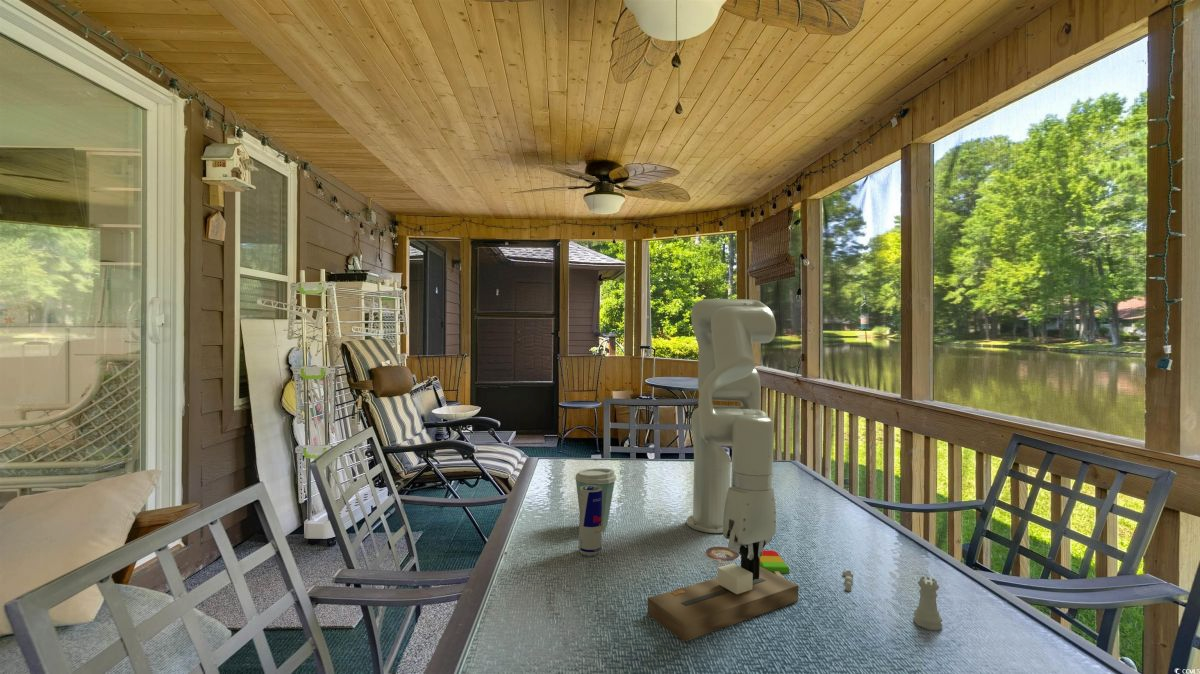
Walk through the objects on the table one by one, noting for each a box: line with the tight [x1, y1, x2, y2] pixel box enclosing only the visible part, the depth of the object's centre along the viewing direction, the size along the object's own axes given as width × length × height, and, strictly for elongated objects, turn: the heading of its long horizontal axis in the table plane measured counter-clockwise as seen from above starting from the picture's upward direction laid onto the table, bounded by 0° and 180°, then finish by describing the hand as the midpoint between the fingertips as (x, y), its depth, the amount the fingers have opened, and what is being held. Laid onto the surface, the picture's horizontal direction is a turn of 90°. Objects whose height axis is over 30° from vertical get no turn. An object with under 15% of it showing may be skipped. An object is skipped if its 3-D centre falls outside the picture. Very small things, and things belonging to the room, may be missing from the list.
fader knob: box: [716, 562, 753, 594], centre depth 102 cm, size 4×5×3 cm
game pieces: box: [842, 569, 854, 592], centre depth 112 cm, size 8×2×2 cm, turn 155°
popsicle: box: [759, 549, 790, 578], centre depth 118 cm, size 6×15×2 cm, turn 179°
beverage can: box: [578, 485, 603, 557], centre depth 125 cm, size 5×5×15 cm
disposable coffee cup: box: [574, 467, 617, 533], centre depth 141 cm, size 11×11×15 cm
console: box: [647, 567, 799, 643], centre depth 101 cm, size 28×10×3 cm, turn 121°
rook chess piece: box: [912, 575, 943, 632], centre depth 96 cm, size 4×4×8 cm
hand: (749, 576), depth 104 cm, fingers closed
